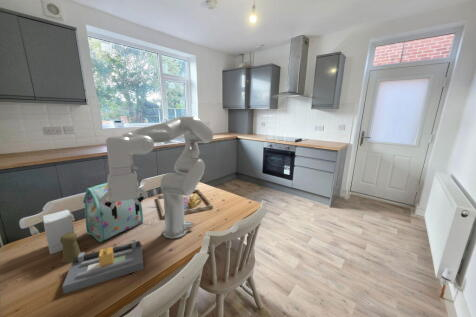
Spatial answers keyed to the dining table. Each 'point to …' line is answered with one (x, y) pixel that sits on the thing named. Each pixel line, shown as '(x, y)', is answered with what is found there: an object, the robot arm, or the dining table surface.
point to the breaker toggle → (106, 256)
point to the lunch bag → (108, 214)
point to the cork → (69, 247)
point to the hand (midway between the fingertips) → (126, 214)
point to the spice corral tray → (188, 209)
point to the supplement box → (57, 229)
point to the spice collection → (191, 201)
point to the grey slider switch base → (90, 272)
